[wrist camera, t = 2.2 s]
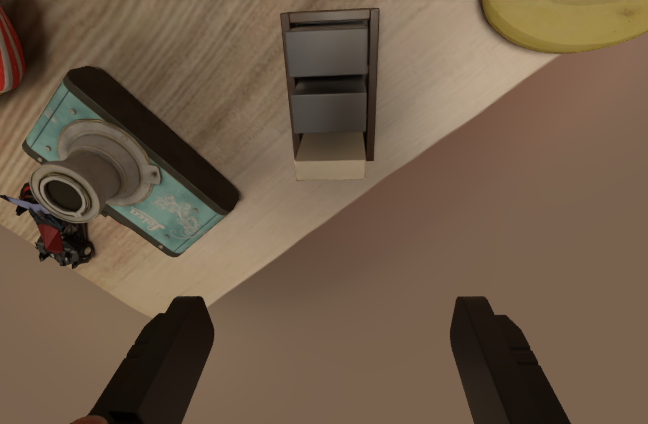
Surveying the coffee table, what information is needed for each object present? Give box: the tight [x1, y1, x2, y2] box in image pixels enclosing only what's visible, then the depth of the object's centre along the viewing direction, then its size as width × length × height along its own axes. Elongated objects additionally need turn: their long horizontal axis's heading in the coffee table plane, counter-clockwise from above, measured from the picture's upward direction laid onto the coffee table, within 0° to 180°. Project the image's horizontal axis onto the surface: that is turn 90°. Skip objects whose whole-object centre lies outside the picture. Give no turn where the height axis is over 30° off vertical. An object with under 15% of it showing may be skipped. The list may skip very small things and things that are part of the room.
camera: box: [22, 66, 239, 257], centre depth 29 cm, size 16×10×10 cm
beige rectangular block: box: [295, 132, 366, 181], centre depth 25 cm, size 5×1×9 cm, turn 93°
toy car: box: [0, 182, 93, 269], centre depth 36 cm, size 6×12×4 cm, turn 165°
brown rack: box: [280, 8, 379, 161], centre depth 24 cm, size 7×11×9 cm, turn 3°
